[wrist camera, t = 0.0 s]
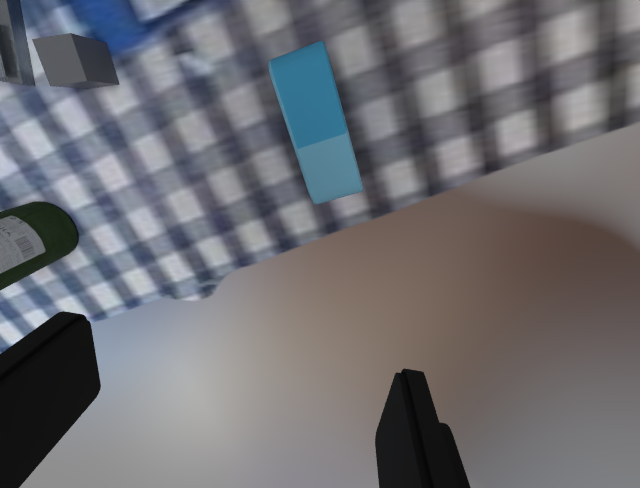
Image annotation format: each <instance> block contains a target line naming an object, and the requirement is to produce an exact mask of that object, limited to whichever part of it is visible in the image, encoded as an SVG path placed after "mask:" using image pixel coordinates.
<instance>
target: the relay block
mask: <svg viewBox="0 0 640 488" xmlns="http://www.w3.org/2000/svg"><path fill="white" fill-rule="evenodd" d="M32 40H33V43H34V45H35V48H36V51H37V53H38V56H39V58H40V61H41V63H42V66H43V69H44V71H45V74H46V76H47V79H48V81H49V84H50V86H56V87H69V88H82V89H90V88H97V87H104V86H111V85H119V81H118V78H117V74H116V71H115V68H114V65H113V62H112V59H111V55H110V52H109V49H108V46H107V43H104V42H101V41H97V40H93V39H90V38H86V37H82V36H79V35H75V34H71V33H69V34H63V35H57V36H50V37H44V38H38V39H32Z"/></svg>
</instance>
